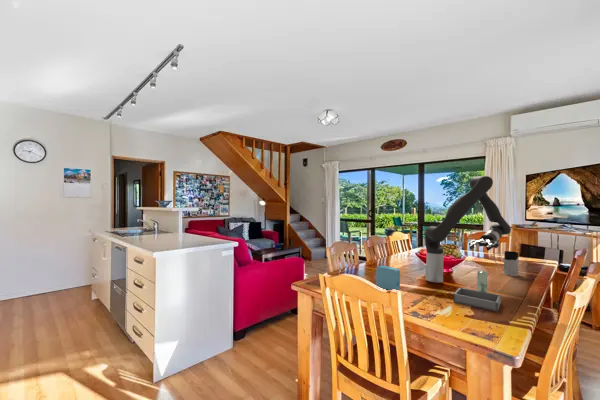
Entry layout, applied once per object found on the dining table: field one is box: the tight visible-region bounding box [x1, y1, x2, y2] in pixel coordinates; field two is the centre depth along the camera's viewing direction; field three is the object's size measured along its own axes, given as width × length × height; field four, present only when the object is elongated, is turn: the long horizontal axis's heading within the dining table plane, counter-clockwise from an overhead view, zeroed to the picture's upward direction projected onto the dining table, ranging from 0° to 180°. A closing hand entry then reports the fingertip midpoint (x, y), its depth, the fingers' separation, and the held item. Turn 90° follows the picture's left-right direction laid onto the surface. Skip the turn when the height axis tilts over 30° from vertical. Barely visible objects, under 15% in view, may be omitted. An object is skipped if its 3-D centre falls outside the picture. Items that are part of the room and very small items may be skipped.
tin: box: [476, 270, 488, 293], centre depth 148 cm, size 4×4×12 cm
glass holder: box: [493, 250, 520, 277], centre depth 191 cm, size 9×14×15 cm, turn 57°
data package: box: [375, 265, 401, 291], centre depth 156 cm, size 12×4×12 cm, turn 45°
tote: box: [453, 287, 502, 313], centre depth 136 cm, size 18×14×4 cm
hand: (478, 248), depth 157 cm, fingers open, 8 cm apart
